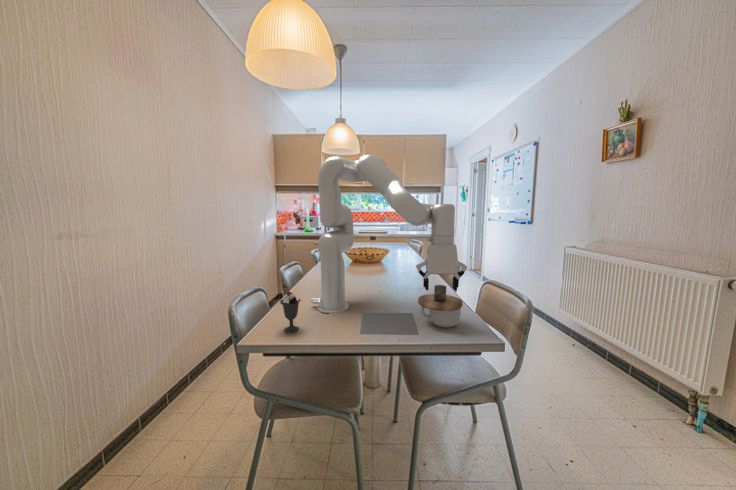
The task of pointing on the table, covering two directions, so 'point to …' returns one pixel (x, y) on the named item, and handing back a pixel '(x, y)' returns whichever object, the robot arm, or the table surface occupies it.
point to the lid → (440, 300)
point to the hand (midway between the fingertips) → (440, 289)
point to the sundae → (290, 310)
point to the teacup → (443, 317)
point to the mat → (388, 324)
